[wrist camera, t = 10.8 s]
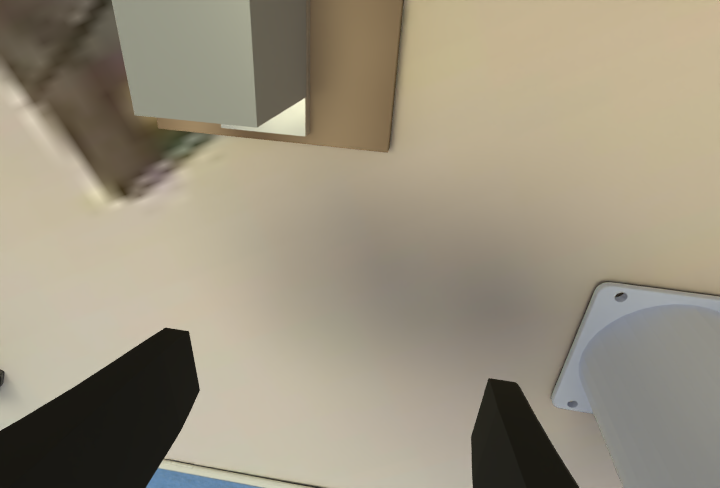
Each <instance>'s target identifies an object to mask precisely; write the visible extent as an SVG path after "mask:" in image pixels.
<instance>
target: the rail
mask: <svg viewBox="0 0 720 488" xmlns="http://www.w3.org/2000/svg"><path fill="white" fill-rule="evenodd" d="M221 128H227V129H237V130H247V131H257V132H266V133H276V134H286V135H295V136H306V135H308V134H309V133H310V0H306V98H304V99H302V100H301V101H299V102H298V103H296V104H294V105H293V106H291V107H290V108H288V109H286V110H285V111H283V112H282V113H280V114H278V115H277V116H275V117H274V118H272V119H270V120H269V121H267V122H265V123H264V124H262V125H261V126H259V127H257V128H255V127H246V126H236V125H226V124H221Z"/></svg>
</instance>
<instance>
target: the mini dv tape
mask: <svg viewBox="0 0 720 488" xmlns="http://www.w3.org/2000/svg"><path fill="white" fill-rule="evenodd" d="M3 377H4V371H2V370H0V386H1V385H2V384H3Z"/></svg>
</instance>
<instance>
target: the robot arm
mask: <svg viewBox="0 0 720 488" xmlns="http://www.w3.org/2000/svg"><path fill="white" fill-rule="evenodd" d="M621 292H624V294H623V295H622V296H619V297H615V296H616V294H618V293H621ZM199 391H200V389H199V383H198V378H197V373H196V367H195V362H194V357H193V351H192V346H191V340H190V335H189V331H183V330H177V329H170V328H164V329H163V330H161V331H160V332H158V333H156V334H155V335H153V336H152V337H150V338H148V339H147V340H145V341H144V342H142V343H141V344H139V345H138V346H136V347H135V348H133V349H132V350H130V351H129V352H127V353H126V354H124V355H123V356H121V357H120V358H118V359H117V360H115V361H114V362H112V363H111V364H109V365H107V366H106V367H104V368H103V369H101V370H100V371H98V372H97V373H95V374H94V375H92V376H90V377H89V378H87V379H86V380H84V381H83V382H81V383H80V384H78V385H77V386H75V387H73V388H72V389H70V390H68V391H67V392H65V393H63V394H62V395H60V396H58V397H57V398H55V399H53V400H52V401H50V402H48V403H47V404H45V405H43V406H42V407H40V408H38V409H37V410H35V411H34V412H32V413H30V414H29V415H27V416H25V417H24V418H22V419H20V420H18V421H17V422H15V423H13V424H11V425H10V426H8V427H6V428H4V429H2V430H1V431H0V488H146V486H147V485H148V483H149V482H150V480H151V478H152V477H153V475H154V474H155V472H156V470H157V469H158V467H159V466H160V464H161V462H162V461H163V459H164V457H165V456H166V454H167V453H168V451H169V449H170V448H171V446H172V444H173V443H174V441H175V439H176V438H177V436H178V434H179V433H180V431H181V429H182V427H183V425H184V423H185V421H186V419H187V417H188V415H189V413H190V411H191V408H192V406H193V404H194V402H195V399H196V397H197V395H198V393H199ZM551 399H552V403H553V405H554V406H555V407H558V408H561V409H567V410H574V411H580V412H586V413H592V414H594V416H595V418H596V421H597V423H598V426H599V428H600V431H601V433H602V436H603V438H604V441H605V444H606V446H607V449H608V451H609V454H610V456H611V459H612V461H613V464H614V466H615V469H616V471H617V474H618V476H619V479H620V481H621V484H622V486H623V488H720V297H719V296H712V295H704V294H697V293H689V292H681V291H674V290H666V289H659V288H651V287H643V286H636V285H628V284H621V283H613V282H605V283H602V284H600V285H599V286H597V288H596V289H595V291H594V294H593V296H592V298H591V301H590V303H589V306H588V308H587V311H586V313H585V315H584V318H583V320H582V323H581V325H580V328H579V330H578V332H577V335H576V337H575V340H574V342H573V345H572V347H571V349H570V352H569V354H568V357H567V359H566V362H565V364H564V366H563V369H562V371H561V374H560V376H559V379H558V381H557V383H556V386H555V388H554V391H553V393H552V396H551ZM569 401H572V402H569ZM471 445H472V480H473V488H579V486H578V485H577V483H576V482H575V480H574V478H573V477H572V475H571V474H570V472H569V471H568V469H567V467H566V466H565V464H564V463H563V461H562V459H561V458H560V456H559V455H558V453H557V451H556V450H555V448H554V446H553V445H552V443H551V441H550V440H549V438H548V436H547V435H546V433H545V431H544V429H543V428H542V426H541V424H540V422H539V421H538V419H537V417H536V415H535V414H534V412H533V410H532V408H531V407H530V405H529V403H528V401H527V399H526V397H525V396H524V394H523V392H522V390H521V388H520V387H519V385H518V384H517V383H516V382H509V381H503V380H497V379H490V378H489V379H488V382H487V385H486V389H485V392H484V396H483V399H482V402H481V406H480V409H479V412H478V416H477V419H476V423H475V426H474V429H473V433H472V436H471Z"/></svg>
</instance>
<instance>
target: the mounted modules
mask: <svg viewBox="0 0 720 488" xmlns="http://www.w3.org/2000/svg"><path fill="white" fill-rule="evenodd" d="M112 4H113V9H114V14H115V19H116V24H117V29H118V34H119V39H120V44H121V49H122V54H123V59H124V64H125V69H126V74H127V79H128V84H129V89H130V94H131V99H132V104H133V109H134V114H135V115H138V116H148V117H157V118H167V119H177V120H187V121H197V122H206V123H216V124H226V125H236V126H246V127H255V128H257V127H259V126H261V125H262V124H264V123H265V122H267V121H269V120H270V119H272V118H274V117H275V116H277V115H278V114H280V113H282V112H283V111H285V110H286V109H288V108H290V107H291V106H293V105H294V104H296V103H298V102H299V101H301V100H302V99H304V98H306V0H112Z"/></svg>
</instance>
